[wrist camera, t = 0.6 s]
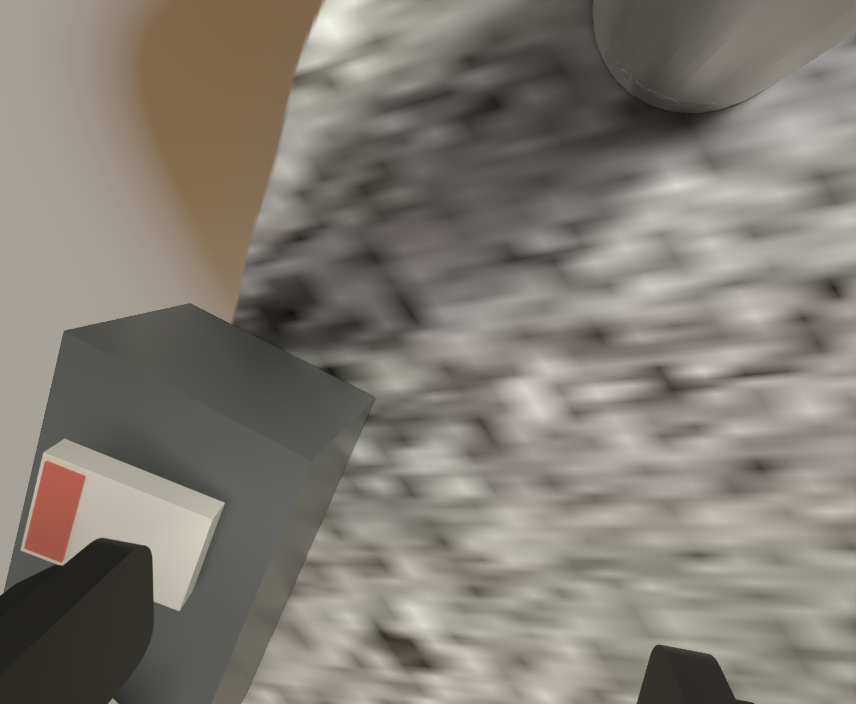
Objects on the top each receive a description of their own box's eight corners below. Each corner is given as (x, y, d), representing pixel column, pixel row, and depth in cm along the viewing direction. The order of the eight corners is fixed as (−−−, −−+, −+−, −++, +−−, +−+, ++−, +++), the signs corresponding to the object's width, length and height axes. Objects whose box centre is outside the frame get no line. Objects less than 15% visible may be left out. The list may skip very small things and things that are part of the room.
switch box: (182, 299, 31) (54, 325, 23) (375, 397, 30) (311, 461, 22) (82, 637, 39) (-40, 744, 31) (232, 725, 38) (145, 861, 30)
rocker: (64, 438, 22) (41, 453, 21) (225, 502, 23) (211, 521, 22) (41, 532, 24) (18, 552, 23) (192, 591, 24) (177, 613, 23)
